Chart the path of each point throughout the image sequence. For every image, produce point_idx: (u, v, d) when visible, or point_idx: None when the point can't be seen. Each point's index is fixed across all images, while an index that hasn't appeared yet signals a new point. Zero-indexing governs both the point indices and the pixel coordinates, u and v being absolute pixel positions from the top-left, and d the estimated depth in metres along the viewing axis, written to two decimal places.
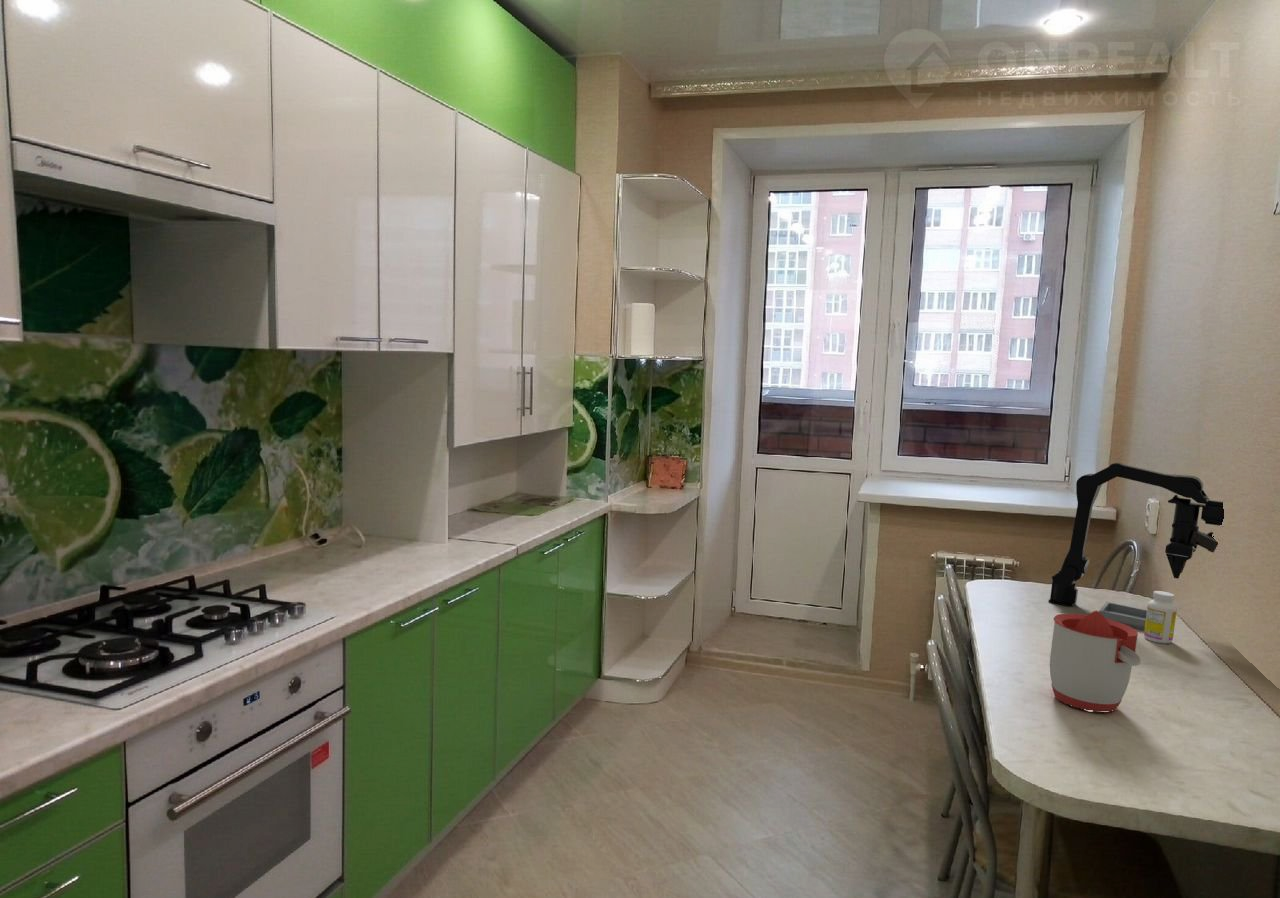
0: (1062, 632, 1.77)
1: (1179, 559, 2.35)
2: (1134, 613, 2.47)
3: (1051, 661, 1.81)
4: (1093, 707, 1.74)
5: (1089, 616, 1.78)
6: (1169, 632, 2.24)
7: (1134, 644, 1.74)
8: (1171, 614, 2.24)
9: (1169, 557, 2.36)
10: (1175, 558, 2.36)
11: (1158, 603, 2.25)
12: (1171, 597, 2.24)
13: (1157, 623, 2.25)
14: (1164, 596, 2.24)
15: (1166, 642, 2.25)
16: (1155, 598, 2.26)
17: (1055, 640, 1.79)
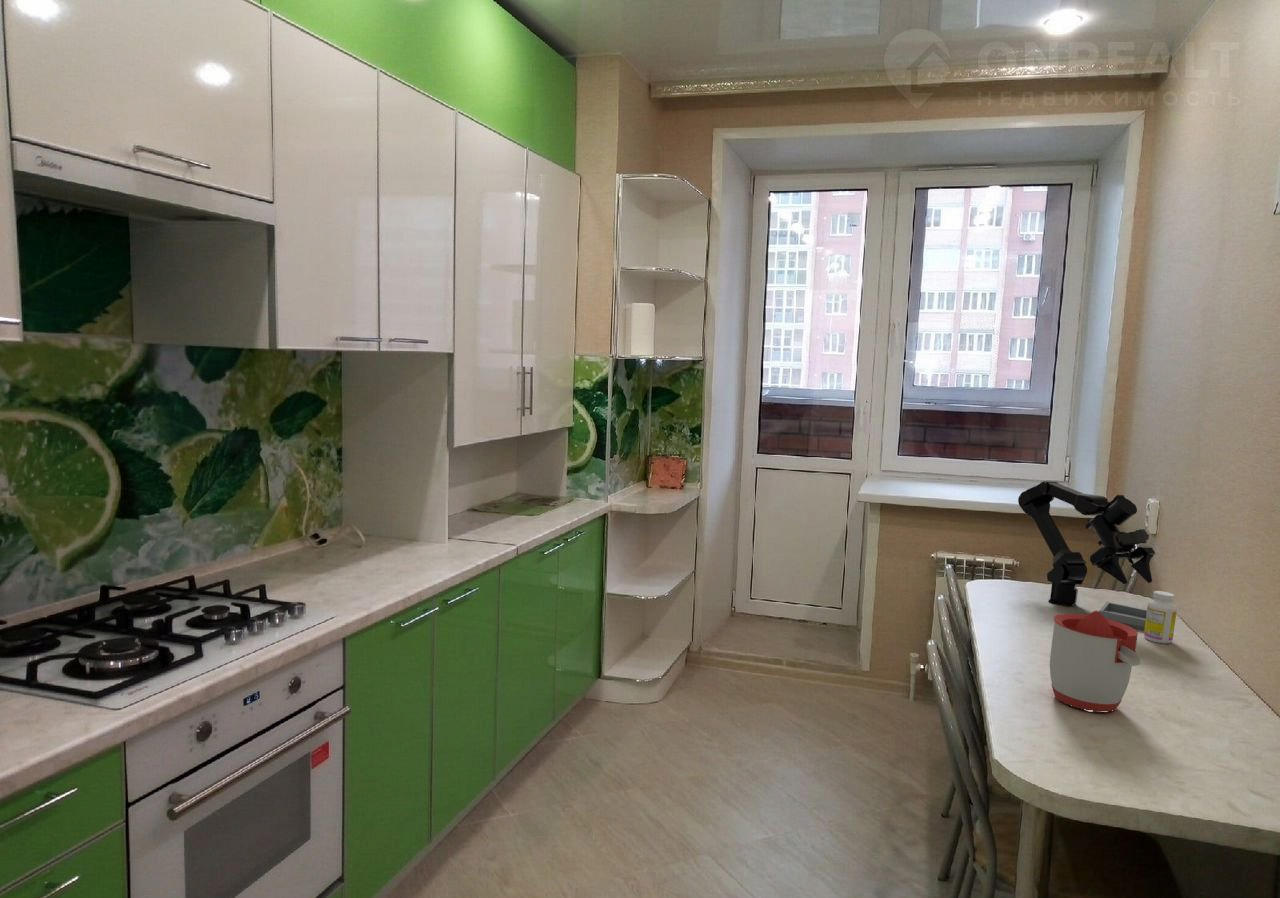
0: (1062, 632, 1.77)
1: (1112, 565, 2.35)
2: (1134, 613, 2.47)
3: (1051, 661, 1.81)
4: (1093, 707, 1.74)
5: (1089, 616, 1.78)
6: (1169, 632, 2.24)
7: (1134, 644, 1.74)
8: (1171, 614, 2.24)
9: (1104, 568, 2.36)
10: (1110, 566, 2.35)
11: (1158, 603, 2.25)
12: (1171, 597, 2.24)
13: (1157, 623, 2.25)
14: (1164, 596, 2.24)
15: (1166, 642, 2.25)
16: (1155, 598, 2.26)
17: (1055, 640, 1.79)
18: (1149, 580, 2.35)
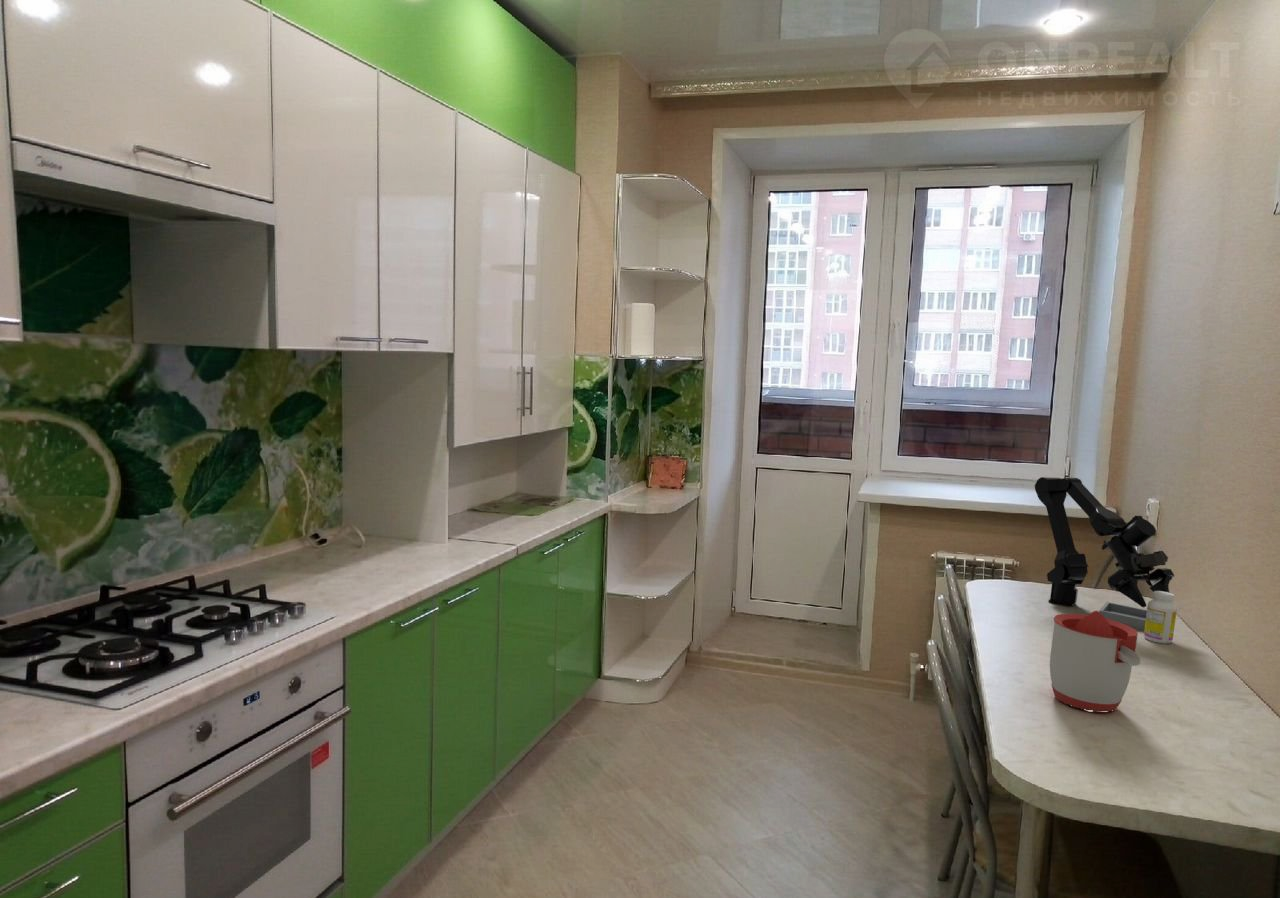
0: (1062, 632, 1.77)
1: (1131, 587, 2.29)
2: (1134, 613, 2.47)
3: (1051, 661, 1.81)
4: (1093, 707, 1.74)
5: (1089, 616, 1.78)
6: (1169, 632, 2.24)
7: (1134, 644, 1.74)
8: (1171, 614, 2.24)
9: (1122, 591, 2.31)
10: (1128, 589, 2.30)
11: (1158, 603, 2.25)
12: (1171, 597, 2.24)
13: (1157, 623, 2.25)
14: (1164, 596, 2.24)
15: (1166, 642, 2.25)
16: (1155, 598, 2.26)
17: (1055, 640, 1.79)
18: None
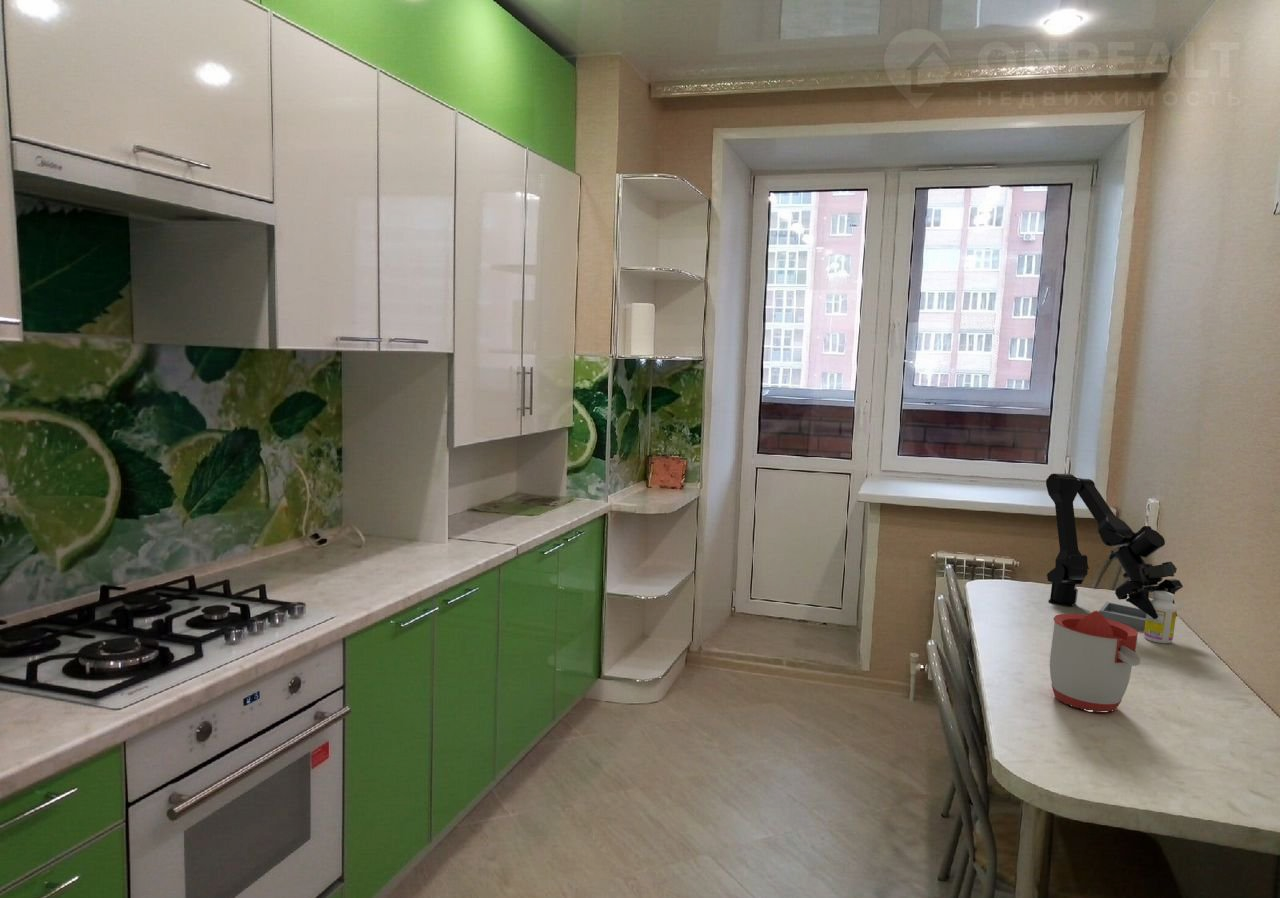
0: (1062, 632, 1.77)
1: (1142, 599, 2.27)
2: (1134, 613, 2.47)
3: (1051, 661, 1.81)
4: (1093, 707, 1.74)
5: (1089, 616, 1.78)
6: (1169, 632, 2.24)
7: (1134, 644, 1.74)
8: (1171, 614, 2.24)
9: (1133, 602, 2.29)
10: (1139, 600, 2.28)
11: (1158, 603, 2.25)
12: (1171, 597, 2.24)
13: (1157, 623, 2.25)
14: (1164, 596, 2.24)
15: (1166, 642, 2.25)
16: (1155, 598, 2.26)
17: (1055, 640, 1.79)
18: None
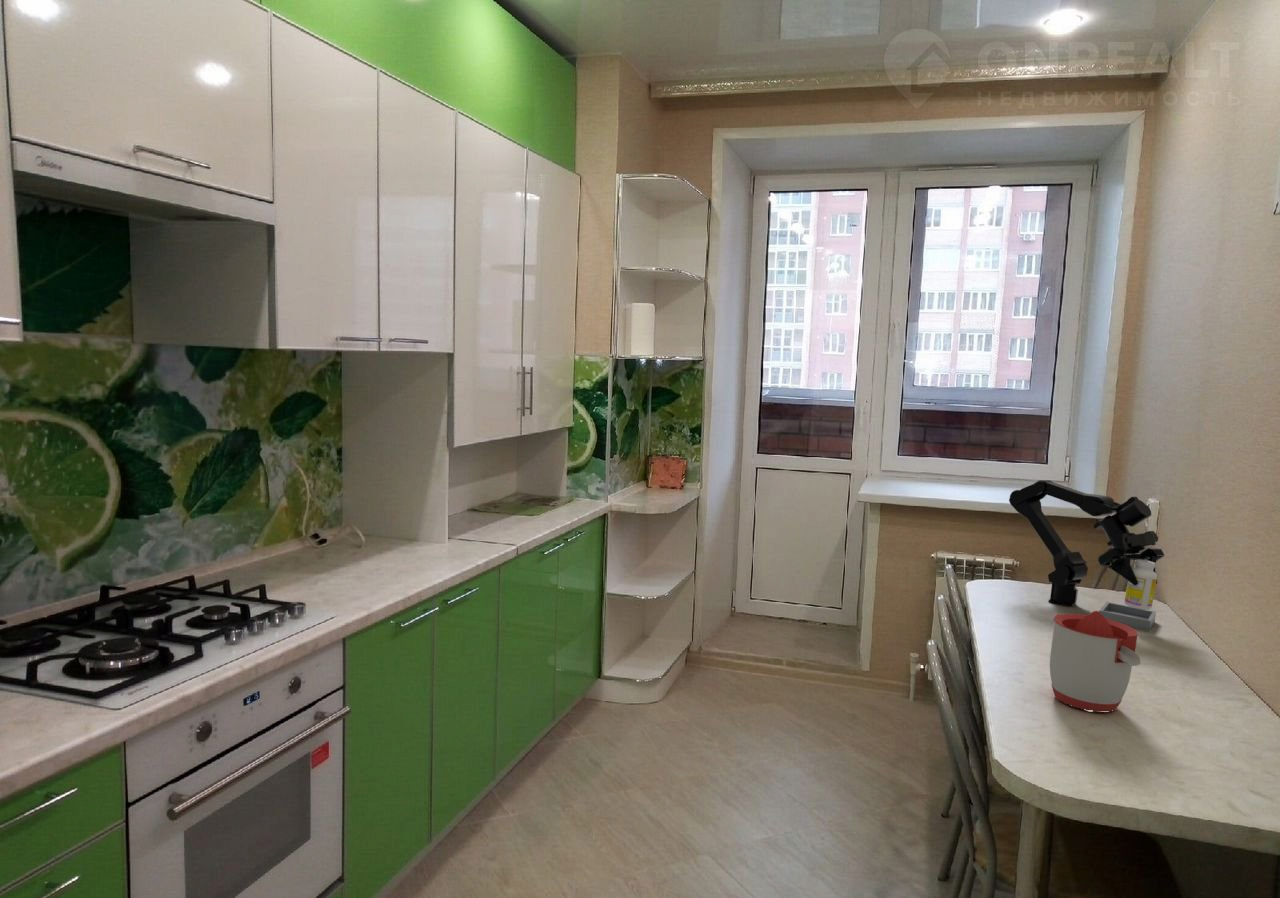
0: (1062, 632, 1.77)
1: (1123, 566, 2.36)
2: (1134, 613, 2.47)
3: (1051, 661, 1.81)
4: (1093, 707, 1.74)
5: (1089, 616, 1.78)
6: (1148, 598, 2.33)
7: (1134, 644, 1.74)
8: (1151, 581, 2.33)
9: (1115, 569, 2.38)
10: (1121, 567, 2.37)
11: (1139, 570, 2.34)
12: (1152, 565, 2.33)
13: (1137, 590, 2.34)
14: (1145, 564, 2.33)
15: (1145, 608, 2.34)
16: (1137, 566, 2.35)
17: (1055, 640, 1.79)
18: None
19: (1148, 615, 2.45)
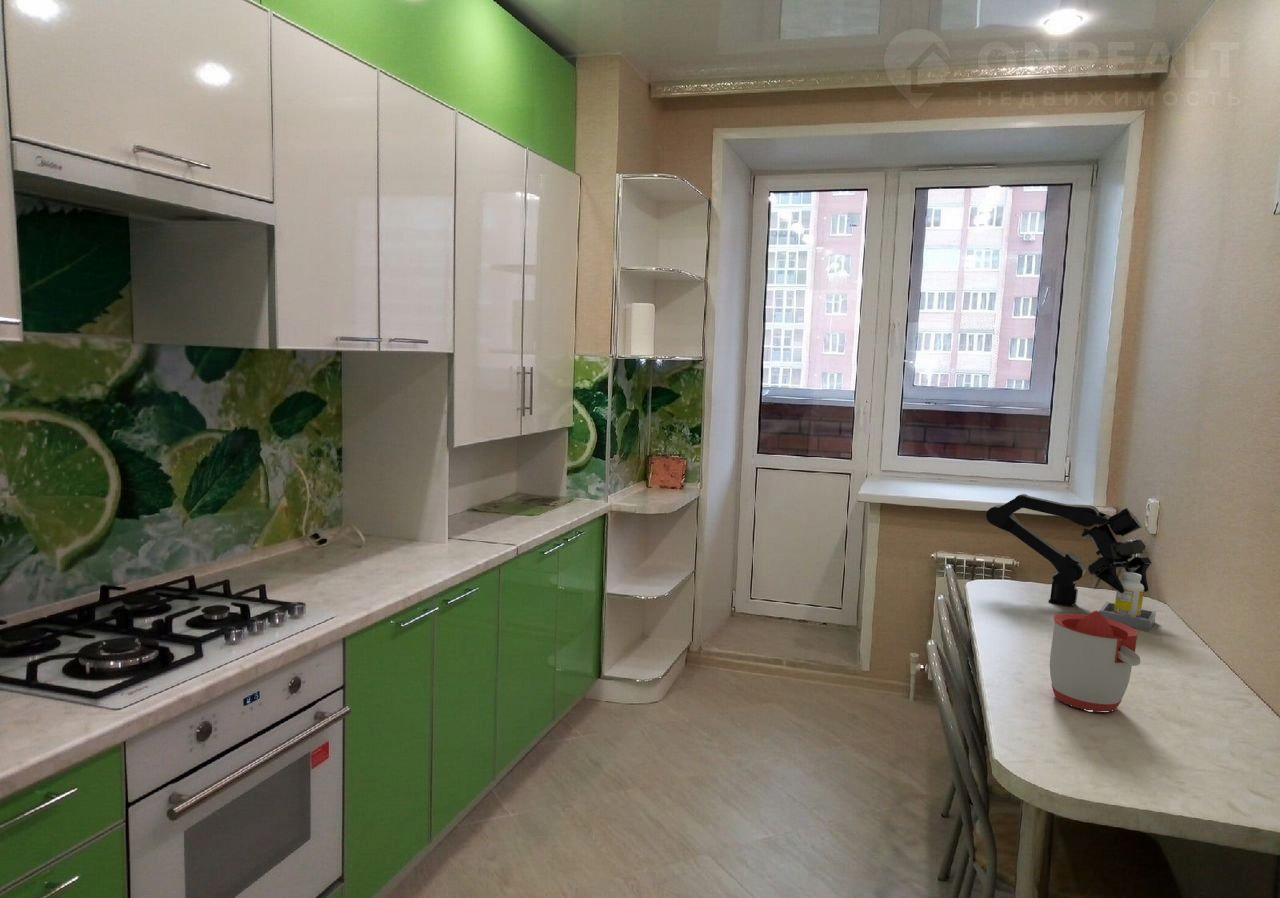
0: (1062, 632, 1.77)
1: (1110, 574, 2.42)
2: None
3: (1051, 661, 1.81)
4: (1093, 707, 1.74)
5: (1089, 616, 1.78)
6: (1137, 610, 2.40)
7: (1134, 644, 1.74)
8: (1139, 593, 2.39)
9: (1102, 578, 2.44)
10: (1107, 576, 2.43)
11: (1126, 583, 2.41)
12: (1138, 577, 2.40)
13: (1126, 602, 2.40)
14: (1132, 576, 2.40)
15: None
16: (1124, 578, 2.42)
17: (1055, 640, 1.79)
18: (1145, 589, 2.43)
19: (1148, 615, 2.45)
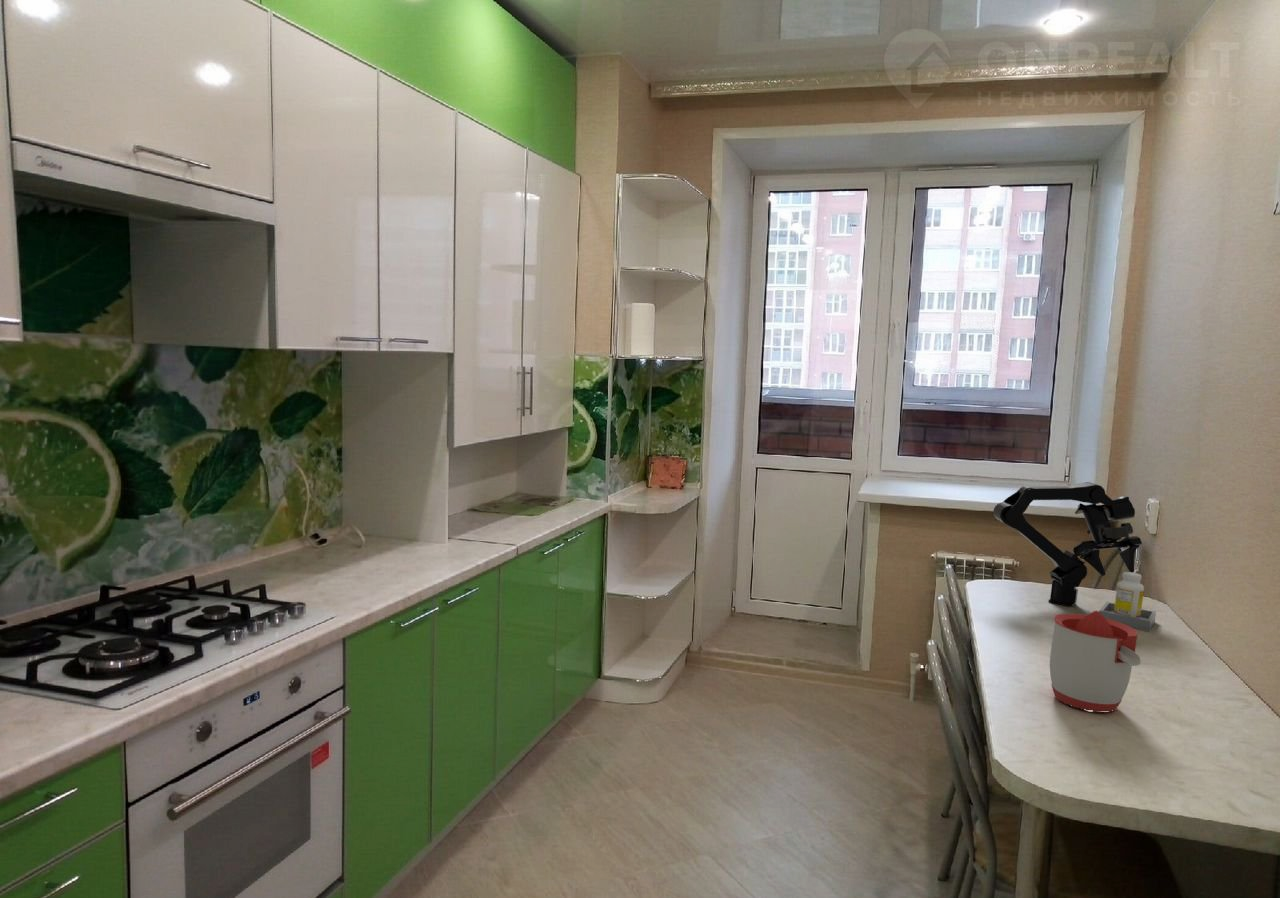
0: (1062, 632, 1.77)
1: (1093, 557, 2.49)
2: None
3: (1051, 661, 1.81)
4: (1093, 707, 1.74)
5: (1089, 616, 1.78)
6: (1137, 610, 2.40)
7: (1134, 644, 1.74)
8: (1139, 593, 2.39)
9: (1086, 559, 2.51)
10: (1091, 558, 2.50)
11: (1126, 583, 2.41)
12: (1138, 577, 2.40)
13: (1126, 602, 2.40)
14: (1132, 576, 2.40)
15: None
16: (1124, 578, 2.42)
17: (1055, 640, 1.79)
18: (1131, 570, 2.48)
19: (1148, 615, 2.45)
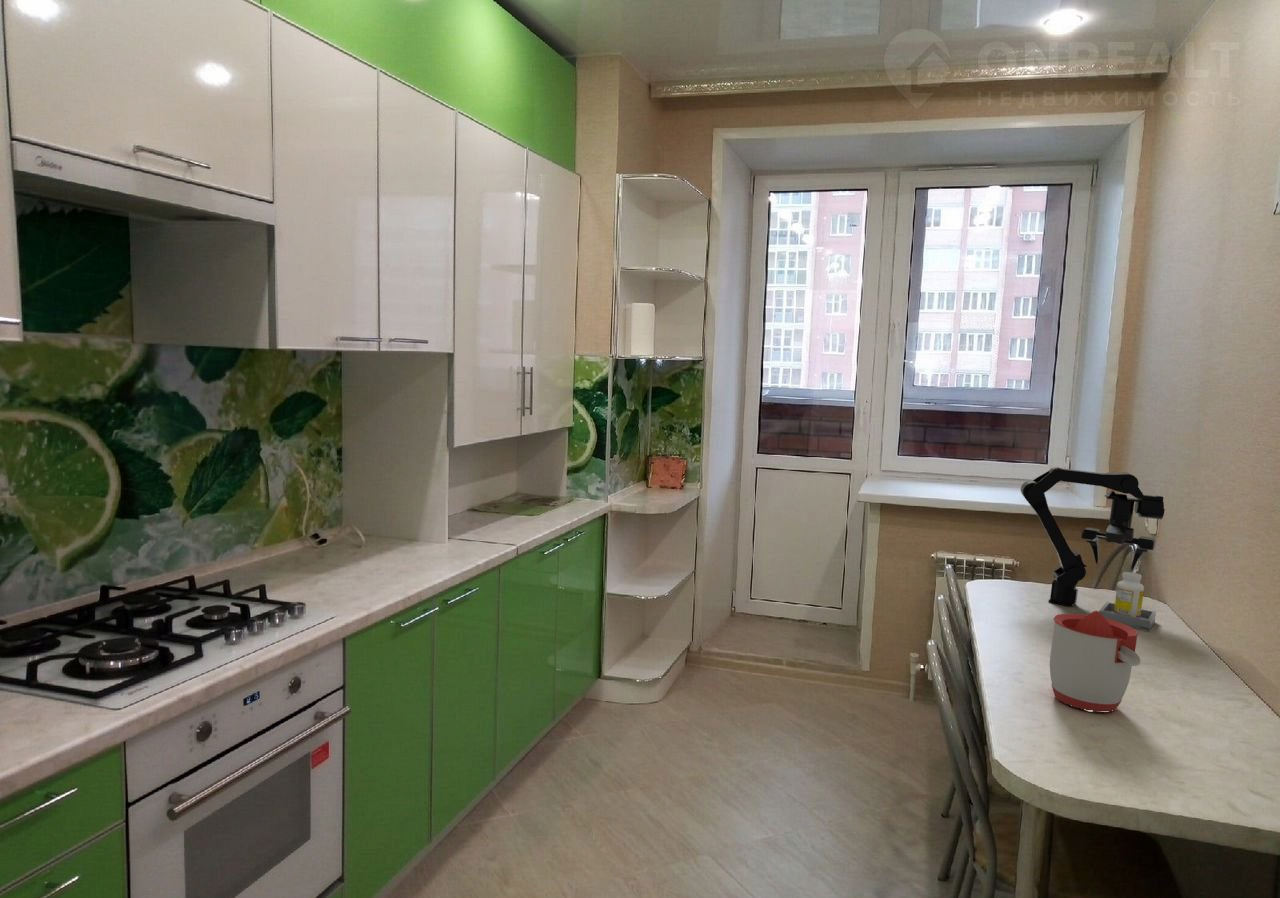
0: (1062, 632, 1.77)
1: None
2: None
3: (1051, 661, 1.81)
4: (1093, 707, 1.74)
5: (1089, 616, 1.78)
6: (1137, 610, 2.40)
7: (1134, 644, 1.74)
8: (1139, 593, 2.39)
9: None
10: None
11: (1126, 583, 2.41)
12: (1138, 577, 2.40)
13: (1126, 602, 2.40)
14: (1132, 576, 2.40)
15: None
16: (1124, 578, 2.42)
17: (1055, 640, 1.79)
18: None
19: (1148, 615, 2.45)
